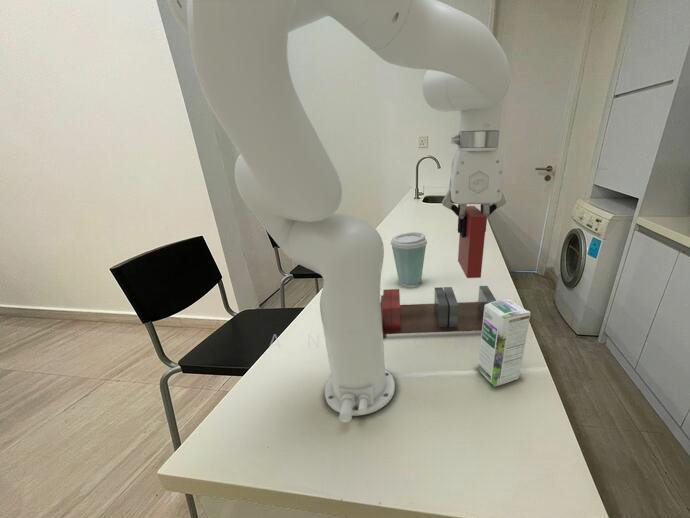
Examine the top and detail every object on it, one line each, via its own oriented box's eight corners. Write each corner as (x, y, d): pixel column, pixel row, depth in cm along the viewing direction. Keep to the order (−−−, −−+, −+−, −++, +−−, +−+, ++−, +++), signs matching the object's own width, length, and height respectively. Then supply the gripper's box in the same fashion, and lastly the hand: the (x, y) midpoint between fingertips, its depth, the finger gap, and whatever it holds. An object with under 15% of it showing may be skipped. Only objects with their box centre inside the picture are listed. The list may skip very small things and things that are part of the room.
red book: (480, 277, 70) (486, 216, 65) (466, 278, 70) (471, 216, 64) (470, 260, 80) (474, 205, 74) (457, 260, 80) (461, 206, 74)
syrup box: (476, 369, 64) (482, 303, 58) (501, 361, 66) (510, 297, 60) (494, 388, 60) (503, 318, 53) (520, 379, 62) (532, 310, 55)
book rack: (502, 333, 75) (505, 307, 72) (380, 338, 75) (378, 312, 72) (487, 304, 88) (489, 282, 85) (382, 308, 88) (380, 286, 85)
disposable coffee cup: (400, 293, 96) (399, 243, 89) (387, 280, 105) (384, 233, 98) (433, 286, 100) (433, 237, 93) (416, 274, 108) (416, 229, 102)
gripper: (438, 143, 60) (435, 241, 68) (527, 141, 60) (514, 239, 68) (433, 142, 67) (431, 232, 75) (514, 141, 67) (503, 230, 75)
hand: (471, 235), depth 72 cm, fingers closed on red book, 3 cm apart
